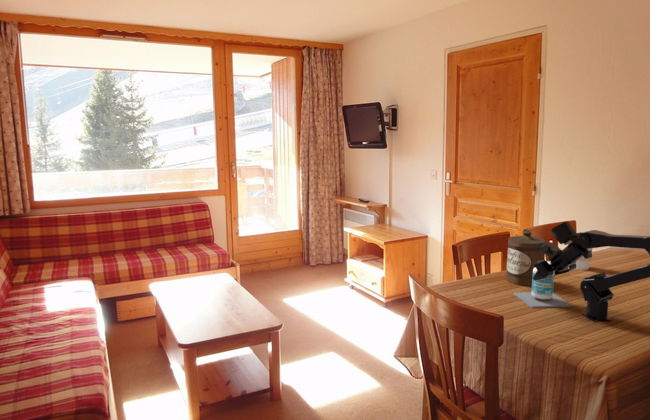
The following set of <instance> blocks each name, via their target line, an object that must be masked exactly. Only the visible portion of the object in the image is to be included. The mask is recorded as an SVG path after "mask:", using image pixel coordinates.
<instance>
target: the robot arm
mask: <svg viewBox="0 0 650 420" xmlns="http://www.w3.org/2000/svg"><path fill="white" fill-rule="evenodd" d="M550 233H551V234H552V236H553V237H554V238H555V239H556V241H557V242H558V244H559V245H564V246H566V247H564V248H563V249H561V248H560V247H559V246H557V245H556V244H554V243H553V242H551V241H547V242H546V241H545V243H544V244H542V245H541V246H540V251H541V252H542V253H544V254H545V256H548V257H547V260H546V259H545V260H540V261H537V262H536V263H534V266H535V268H536V269H537V272H536V273H535V275H534V277H533V280H534V281H535V280H540V279H544V278H549V277H550V276H552V275H553V274H554V271H555V276H558V275H563V274H567V273H569V272H573V271H574V270H577V269H576V261H577V260H578V259H580V258H581V257H582V256H583V257H584V258H585V259H588V258H593V250H592V251H591V250H588V249H589V248H592V249H598V248H603V247H604V248H605V247H611V248H624V249H626V248H628V249H639V250H641V249H644V250H645V251H646V252H647V253H648V254H649V256H650V236H649V235H630V234H612V233H608V232H605V231H602V230H597V229H594V230H588V231H582V232H576V231H575V229H574V228H573V227H572V226H571V224H570V222H569V221H567V220H566V221H563V222H562V223H560V224H558V225H556V226H554V227H553V228H552V229H551V230H550ZM547 261H548V262H550V263H551V265H549V264H548V262H547ZM648 278H650V263H649V264H647V265H644V266H641V267H636V268H633V269H629V270H626V271H623V272H619V273H616V274H612V275H606V272H605V271H604V272H600V273H597V274H592V275H589V276H586V277H584V280H582V281H581V282H580V284H579V287H580V291H581V292H582V296H583V299H584V301H585V302H587V303H586V312H582V315H583V316H584V317H586V318H588V319H589V320H591V321H593V322H599V321H601V322H602V321H603V322H605V321H608V322H609V321H610V322H611V321H612V318H611V317H609V316H608V310H609V303H608V301H612V299H613V297H614V296H615V295H614V293H613V292H612V290H611V289H612V288H614V287H618V286H621V285H625V284H629V283H632V282H637V281H641V280H646V279H648Z"/></svg>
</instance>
